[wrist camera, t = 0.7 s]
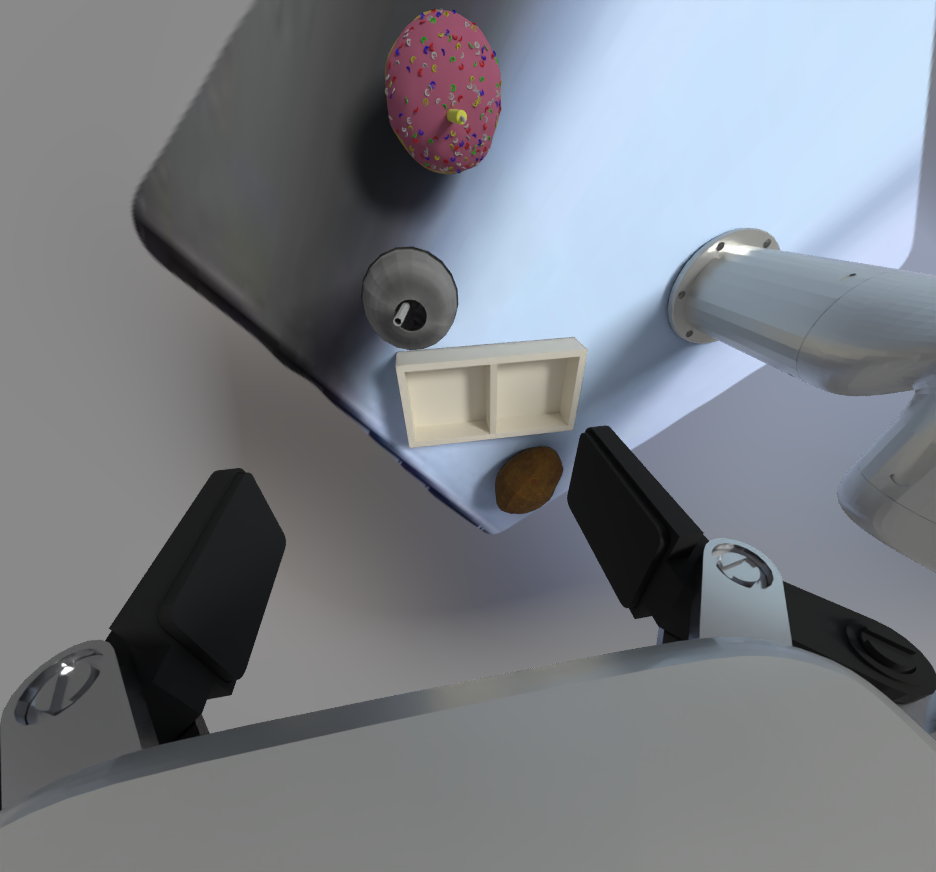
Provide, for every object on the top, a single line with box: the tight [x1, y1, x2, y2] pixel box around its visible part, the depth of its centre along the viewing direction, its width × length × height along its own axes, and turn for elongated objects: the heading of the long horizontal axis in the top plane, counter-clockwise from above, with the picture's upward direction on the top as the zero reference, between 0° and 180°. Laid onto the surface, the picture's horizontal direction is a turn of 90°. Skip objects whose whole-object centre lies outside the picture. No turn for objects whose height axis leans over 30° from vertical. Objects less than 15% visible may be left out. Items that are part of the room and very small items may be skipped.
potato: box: [495, 446, 563, 514], centre depth 50 cm, size 8×12×8 cm, turn 150°
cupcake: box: [385, 9, 502, 174], centre depth 24 cm, size 9×8×12 cm
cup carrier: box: [396, 337, 588, 448], centre depth 42 cm, size 22×11×4 cm, turn 92°
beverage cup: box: [361, 247, 458, 350], centre depth 27 cm, size 7×7×20 cm
